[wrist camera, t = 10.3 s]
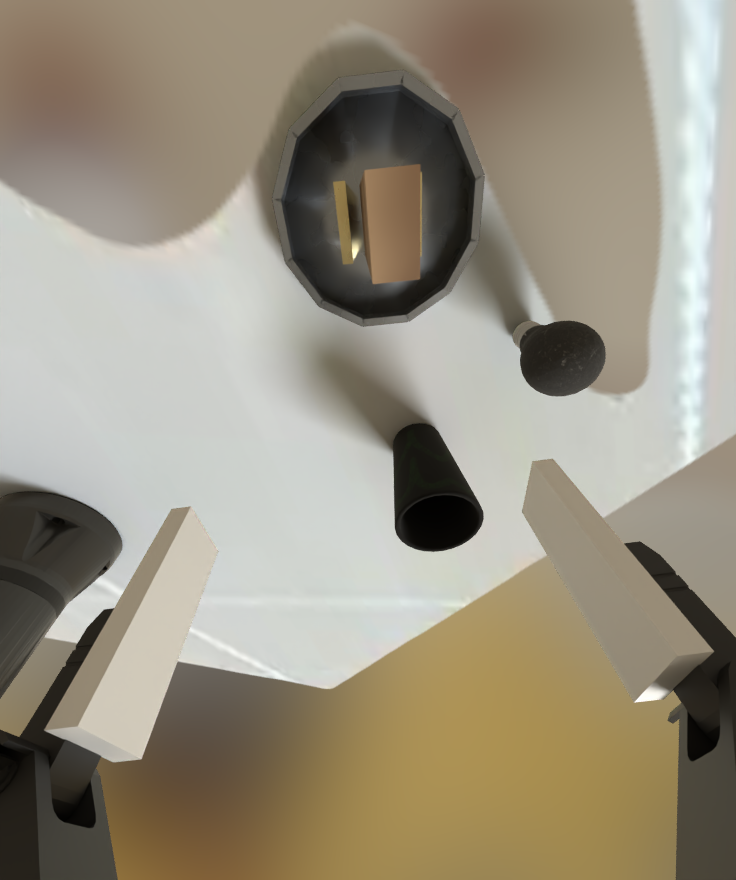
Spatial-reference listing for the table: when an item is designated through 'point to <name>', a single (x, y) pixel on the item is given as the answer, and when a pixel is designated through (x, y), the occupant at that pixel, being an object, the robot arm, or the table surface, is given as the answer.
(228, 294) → the table surface
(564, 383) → the light bulb
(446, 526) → the cup
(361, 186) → the tapered wood plank
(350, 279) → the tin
